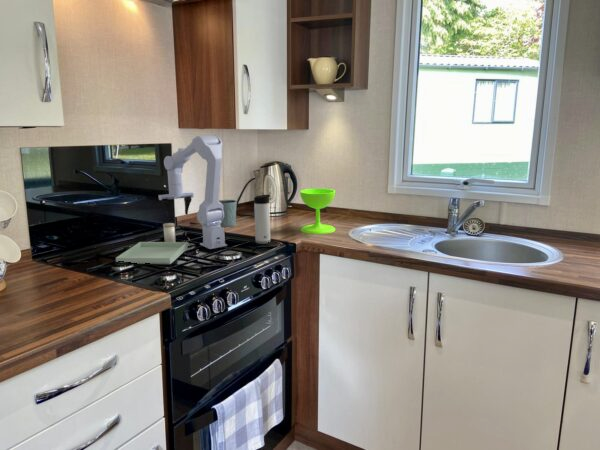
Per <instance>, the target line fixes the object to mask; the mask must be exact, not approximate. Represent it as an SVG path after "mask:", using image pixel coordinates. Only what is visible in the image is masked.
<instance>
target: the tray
mask: <svg viewBox="0 0 600 450" xmlns="http://www.w3.org/2000/svg"><path fill="white" fill-rule="evenodd" d="M188 246H189V242H187V241H186V242H185V241H182V242H181V241H176V242H165V241H156V242H155V241H139V242H137V243H136V244H135V245H133V246H131V247H130V248H128V249H126V251H123V252H122V253H121V254H119V255H118V256H116V257H115V263H116V262H118V261H124V262H131V263H137V264H136V265H145V263H150V264H149V265H172V263H174V261H176V260H177V259H178V258H179V257H180V256H181V255H182V254H183V253H184V252H186V251H187V250H188V249H187V247H188ZM186 249H187V250H186Z"/></svg>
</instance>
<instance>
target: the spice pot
mask: <svg viewBox="0 0 600 450" xmlns="http://www.w3.org/2000/svg"><path fill="white" fill-rule="evenodd" d="M175 226H176V225H175V223H173V222H167V223H166V222H165V223H163V224H162V227H163V235H164V237H163V238H164V242H177V241H176V228H175Z"/></svg>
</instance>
